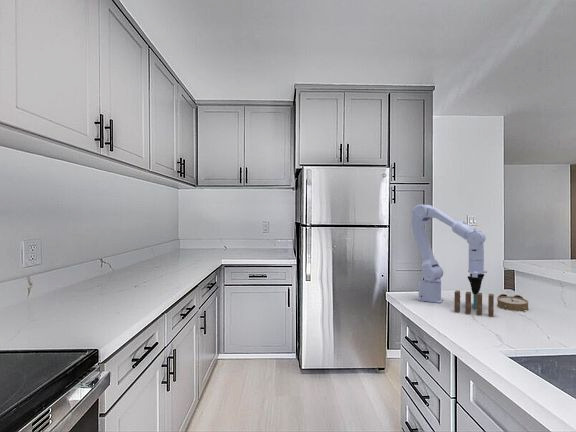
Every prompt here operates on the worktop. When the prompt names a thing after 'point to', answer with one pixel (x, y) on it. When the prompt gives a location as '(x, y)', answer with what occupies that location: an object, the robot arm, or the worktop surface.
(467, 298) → the domino
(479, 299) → the domino
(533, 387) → the worktop surface
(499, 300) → the alarm clock
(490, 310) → the domino
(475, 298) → the teal domino
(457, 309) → the domino
